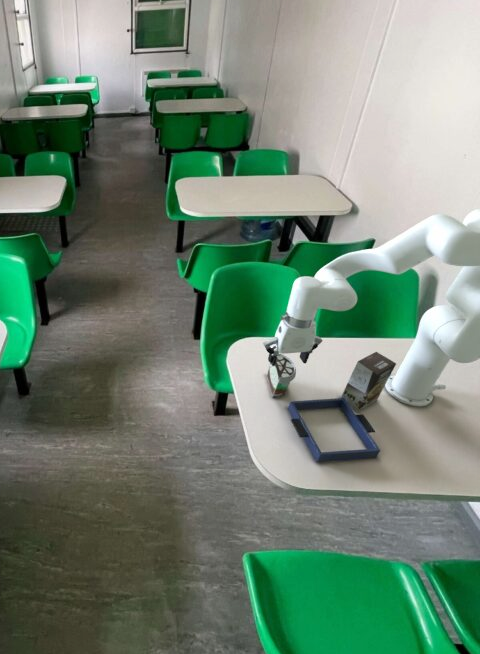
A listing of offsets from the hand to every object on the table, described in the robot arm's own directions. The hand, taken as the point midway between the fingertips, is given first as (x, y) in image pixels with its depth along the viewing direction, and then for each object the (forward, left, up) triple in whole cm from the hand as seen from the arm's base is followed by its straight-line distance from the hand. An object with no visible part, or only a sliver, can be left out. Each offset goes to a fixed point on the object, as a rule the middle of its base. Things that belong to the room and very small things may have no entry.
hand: (287, 361), depth 130 cm
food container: (0, 0, -12) cm, 12 cm away
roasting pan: (-7, +18, -12) cm, 23 cm away
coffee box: (-22, +7, -12) cm, 26 cm away
